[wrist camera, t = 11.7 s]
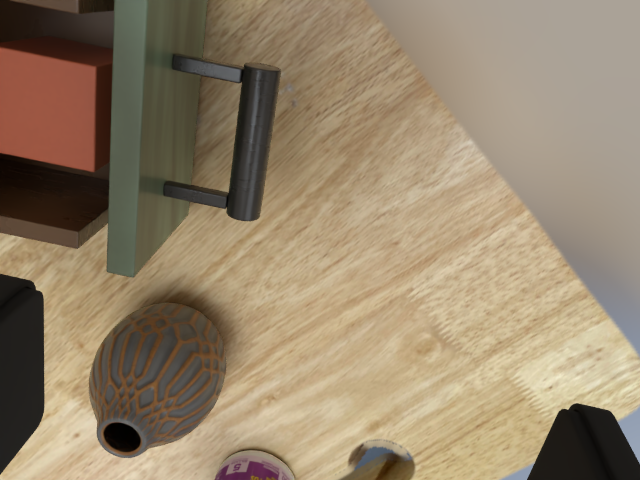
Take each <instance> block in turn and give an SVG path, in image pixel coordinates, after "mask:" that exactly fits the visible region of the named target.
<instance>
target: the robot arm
mask: <svg viewBox="0 0 640 480" xmlns="http://www.w3.org/2000/svg"><path fill="white" fill-rule="evenodd" d="M43 413H44V299H43V294H42V292H40V291H37V290H36V287H35V285H34V283H33V282H32V281H30V280H26V279H21V278H17V277H12V276H8V275H3V274H0V474H1V473H2V472H3V470H4V469H5V468H6V467H7V465H8V464H9V463H10V462H11V460H12V459H13V458H14V457H15V455H16V454H17V453H18V452H19V450H20V449H21V448H22V446H23V445H24V444H25V443H26V441H27V440H28V439H29V438H30V436H31V435H32V434H33V433H34V431H35V430H36V429H37V427H38V426H39V424H40V422H41V419H42V417H43ZM527 480H640V464H639V462H638V460H637V458H636V457H635V454H634V452H633V451H632V449H631V447H630V445H629V443H628V441H627V439H626V437H625V436H624V434H623V432H622V430H621V428H620V426H619V424H618V422H617V420H616V419H615V417H614V415H613V414H612V413H611V412H610V411H608V410H605V409H600V408H596V407H591V406H587V405H582V404H578V403H576V404H573V405H572V406H571V407H570V408H569V410H566V409H562V410H561V411H559V413H558V415H557V417H556V419H555V421H554V423H553V425H552V427H551V429H550V432H549V434H548V436H547V438H546V440H545V442H544V444H543V447H542V449H541V451H540V453H539V455H538V457H537V459H536V462H535V464H534V466H533V468H532V470H531V473H530V475H529V477H528V479H527Z"/></svg>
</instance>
